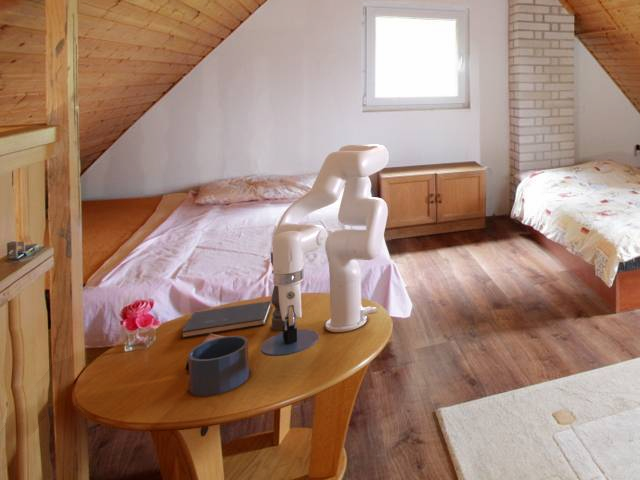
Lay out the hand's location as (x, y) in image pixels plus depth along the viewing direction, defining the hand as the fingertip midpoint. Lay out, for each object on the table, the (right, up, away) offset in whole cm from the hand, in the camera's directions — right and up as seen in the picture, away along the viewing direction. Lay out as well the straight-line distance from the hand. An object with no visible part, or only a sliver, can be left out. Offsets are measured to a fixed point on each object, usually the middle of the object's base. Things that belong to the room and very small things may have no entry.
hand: (290, 339), depth 163 cm
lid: (0, -1, 0) cm, 1 cm away
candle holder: (-17, -8, +27) cm, 33 cm away
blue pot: (-16, -9, -5) cm, 19 cm away
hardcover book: (-37, -8, +31) cm, 49 cm away
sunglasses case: (-28, -9, +9) cm, 30 cm away
